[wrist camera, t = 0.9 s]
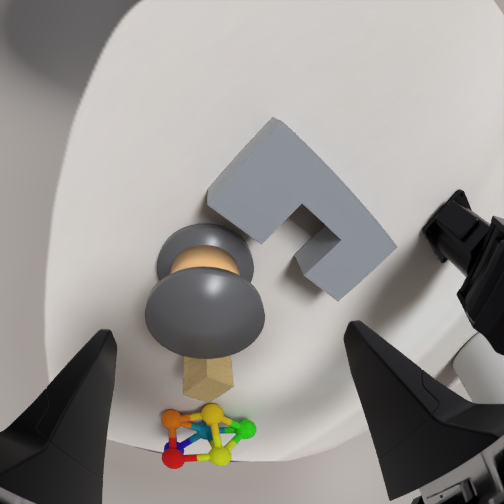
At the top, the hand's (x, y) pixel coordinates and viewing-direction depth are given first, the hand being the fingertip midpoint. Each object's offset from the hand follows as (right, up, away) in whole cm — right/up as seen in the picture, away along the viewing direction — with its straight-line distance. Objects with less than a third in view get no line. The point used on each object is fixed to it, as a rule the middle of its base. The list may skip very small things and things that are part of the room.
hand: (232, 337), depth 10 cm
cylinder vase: (+46, -16, +33) cm, 59 cm away
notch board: (+5, +6, +12) cm, 15 cm away
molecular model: (-7, -22, +29) cm, 37 cm away
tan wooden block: (-4, -7, +19) cm, 21 cm away
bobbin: (-3, +2, +14) cm, 15 cm away
